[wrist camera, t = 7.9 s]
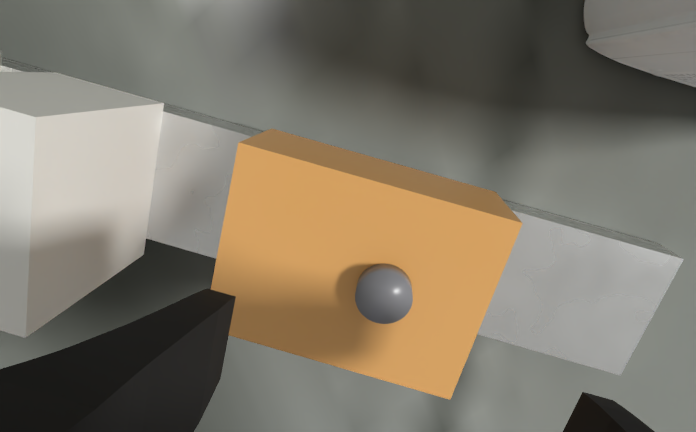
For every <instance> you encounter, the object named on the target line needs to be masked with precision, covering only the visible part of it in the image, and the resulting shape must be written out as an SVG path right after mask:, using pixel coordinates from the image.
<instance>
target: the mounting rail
mask: <svg viewBox="0 0 696 432" xmlns="http://www.w3.org/2000/svg"><path fill="white" fill-rule="evenodd" d="M0 72H51V71H48V70H44V69H41V68H37V67H33V66H30V65H26V64H23V63H19V62H16V61H12V60H9V59H5V58H2V51H0ZM54 73H55V72H54ZM262 132H263V131H259V130H256V129H252V128H249V127H245V126H242V125H238V124H235V123H231V122H227V121H224V120H220V119H217V118H213V117H210V116H206V115H203V114H199V113H196V112H192V111H189V110H185V109H182V108H178V107H175V106H171V105H167V104H164V107H163V115H162V122H161V130H160V137H159V145H158V152H157V160H156V167H155V175H154V182H153V190H152V197H151V205H150V212H149V220H148V227H147V235H146V239H150V240H153V241H157V242H160V243H164V244H167V245H171V246H174V247H177V248H181V249H184V250H188V251H191V252H195V253H198V254H202V255H205V256H209V257H212V258H217V253H218V248H219V242H220V237H221V232H222V227H223V221H224V216H225V211H226V205H227V200H228V195H229V189H230V184H231V179H232V174H233V168H234V163H235V158H236V152H237V147H238V142H240V141H243V140H245V139H248V138H250V137H253V136H255V135H257V134H260V133H262ZM502 200H503V199H502ZM503 201H504V202H505V203H506V205H507V206H508V207H509V208H510V209H511V210H512V211H513V213H514V214H515V215H516V216H517V217H518V218H519V219H520V221H521V222H522V223H523V224H522V226H521V229H520V231H519V233H518V236H517V238H516V241H515V243H514V246H513V248H512V250H511V253H510V255H509V258H508V260H507V263H506V265H505V268H504V270H503V272H502V275H501V277H500V280H499V282H498V285H497V287H496V289H495V292H494V294H493V297H492V299H491V302H490V304H489V306H488V309H487V311H486V314H485V316H484V319H483V321H482V323H481V326H480V328H479V331H478V333H477V334H479V335H482V336H486V337H489V338H493V339H496V340H499V341H503V342H506V343H510V344H513V345H517V346H520V347H524V348H527V349H531V350H534V351H538V352H541V353H544V354H548V355H551V356H555V357H558V358H562V359H565V360H569V361H572V362H576V363H579V364H583V365H586V366H589V367H593V368H596V369H600V370H603V371H607V372H610V373H614V374H617V375H621V373H622V372H623V370H624V368H625V366H626V364H627V362H628V361H629V359H630V357H631V355H632V353H633V351H634V349H635V348H636V346H637V344H638V342H639V340H640V338H641V337H642V335H643V333H644V331H645V329H646V327H647V326H648V324H649V322H650V320H651V318H652V316H653V315H654V313H655V311H656V309H657V307H658V305H659V304H660V302H661V300H662V298H663V296H664V294H665V293H666V291H667V289H668V287H669V285H670V283H671V282H672V280H673V278H674V276H675V274H676V272H677V271H678V269H679V267H680V265H681V263H682V261H683V260H684V259H683V258H681V257H680V256H678V255H676V254H675V253H673V252H672V251H670V250H668V249H667V248H665V247H664V246H662V245H660V244H658V243H654V242H651V241H647V240H644V239H640V238H637V237H633V236H630V235H626V234H623V233H619V232H615V231H612V230H608V229H605V228H601V227H598V226H594V225H591V224H587V223H584V222H580V221H577V220H573V219H570V218H566V217H563V216H559V215H555V214H552V213H548V212H545V211H541V210H538V209H534V208H531V207H527V206H524V205H520V204H517V203H513V202H510V201H506V200H503Z"/></svg>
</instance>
